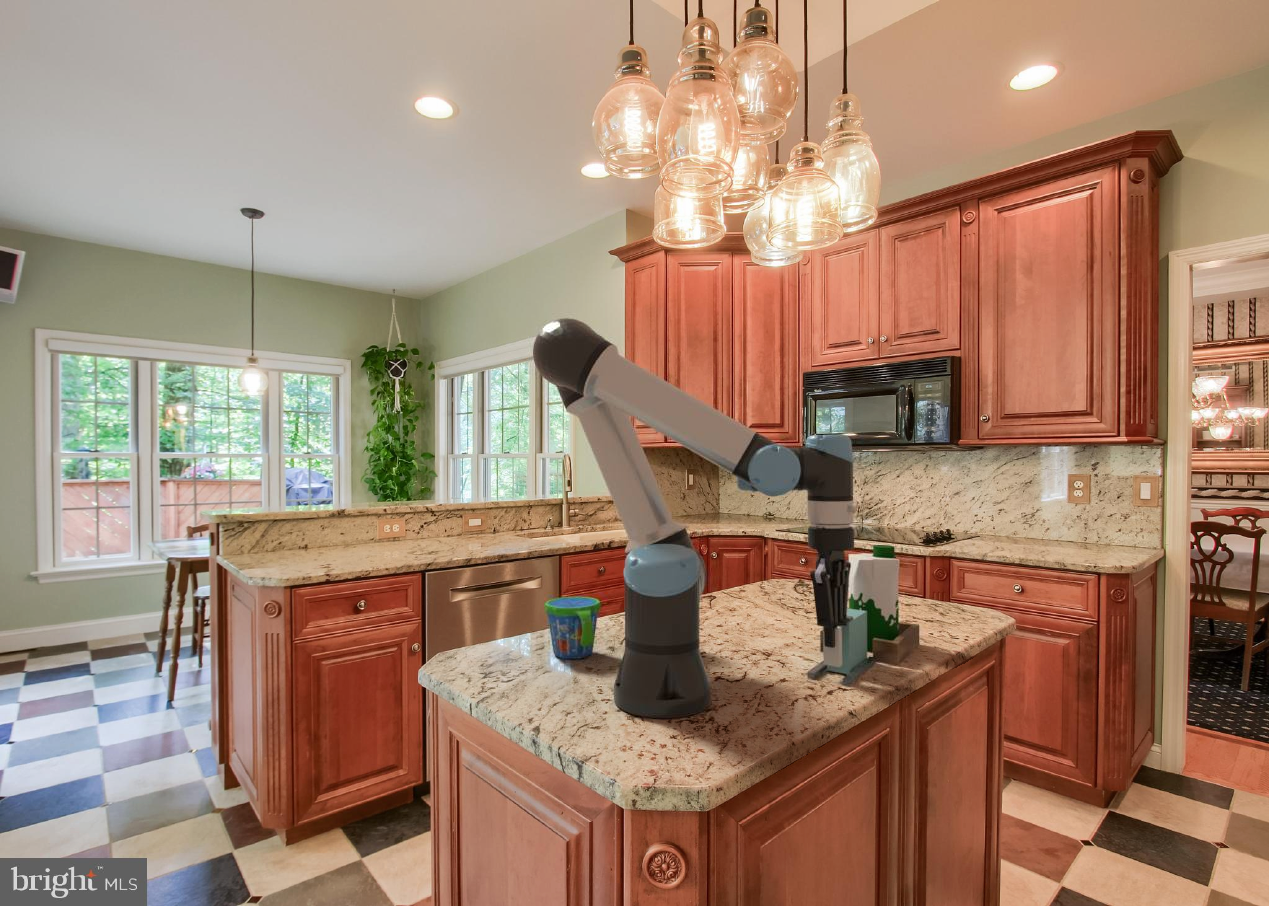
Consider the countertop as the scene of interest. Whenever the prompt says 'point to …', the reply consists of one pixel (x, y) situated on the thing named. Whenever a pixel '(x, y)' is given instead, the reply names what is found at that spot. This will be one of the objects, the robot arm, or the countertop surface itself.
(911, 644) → the cradle
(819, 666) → the rails
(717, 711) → the countertop surface
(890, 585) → the soya milk
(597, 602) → the snack cup
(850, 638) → the slider block
